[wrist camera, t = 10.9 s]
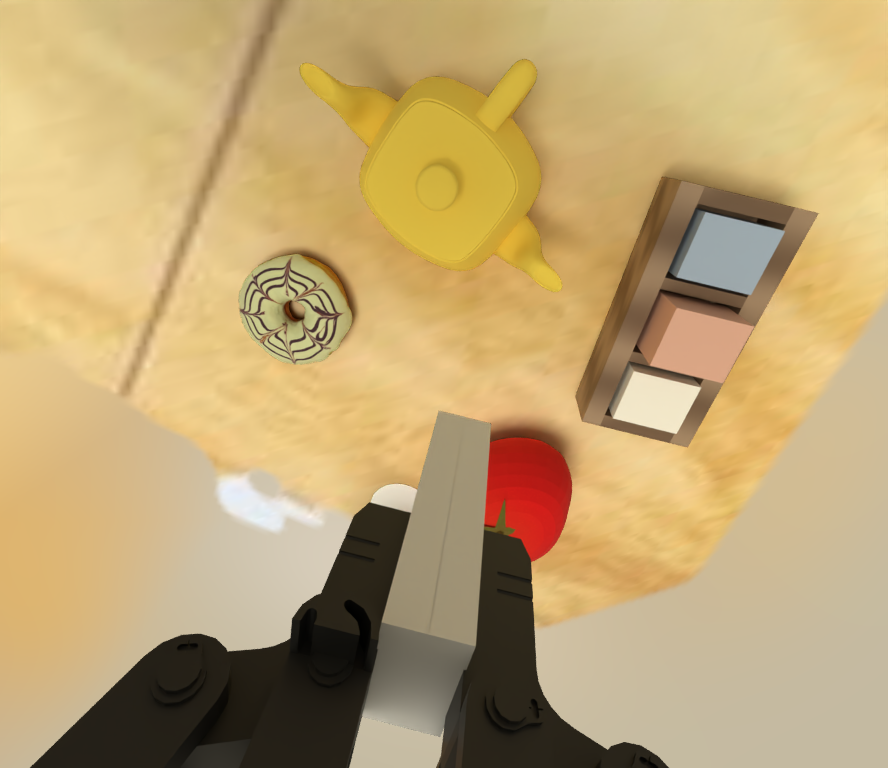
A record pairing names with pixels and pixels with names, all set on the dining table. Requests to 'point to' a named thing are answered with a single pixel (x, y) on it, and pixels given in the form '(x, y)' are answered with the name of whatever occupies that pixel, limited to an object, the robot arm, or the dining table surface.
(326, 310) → the decorated donut
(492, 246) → the teapot
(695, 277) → the slate key
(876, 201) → the dining table surface
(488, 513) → the tomato
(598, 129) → the dining table surface
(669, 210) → the key block
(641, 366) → the ivory key
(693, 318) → the terracotta key
